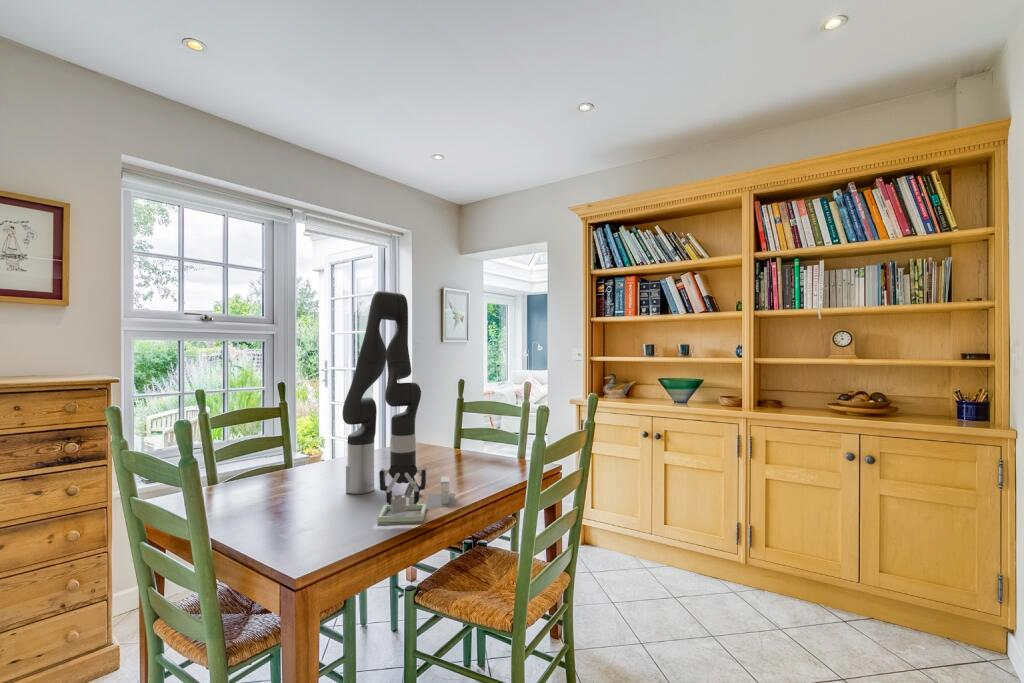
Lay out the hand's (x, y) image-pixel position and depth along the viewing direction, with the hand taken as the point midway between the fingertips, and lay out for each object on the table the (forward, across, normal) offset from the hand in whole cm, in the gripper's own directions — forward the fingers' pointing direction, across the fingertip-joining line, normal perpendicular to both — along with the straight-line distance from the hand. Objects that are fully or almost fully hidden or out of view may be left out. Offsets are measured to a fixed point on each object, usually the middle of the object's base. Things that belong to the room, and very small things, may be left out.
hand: (403, 503), depth 147 cm
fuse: (+3, +12, +13) cm, 18 cm away
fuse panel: (+4, +6, +13) cm, 15 cm away
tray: (+4, 0, 0) cm, 4 cm away
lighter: (+2, 0, 0) cm, 2 cm away
